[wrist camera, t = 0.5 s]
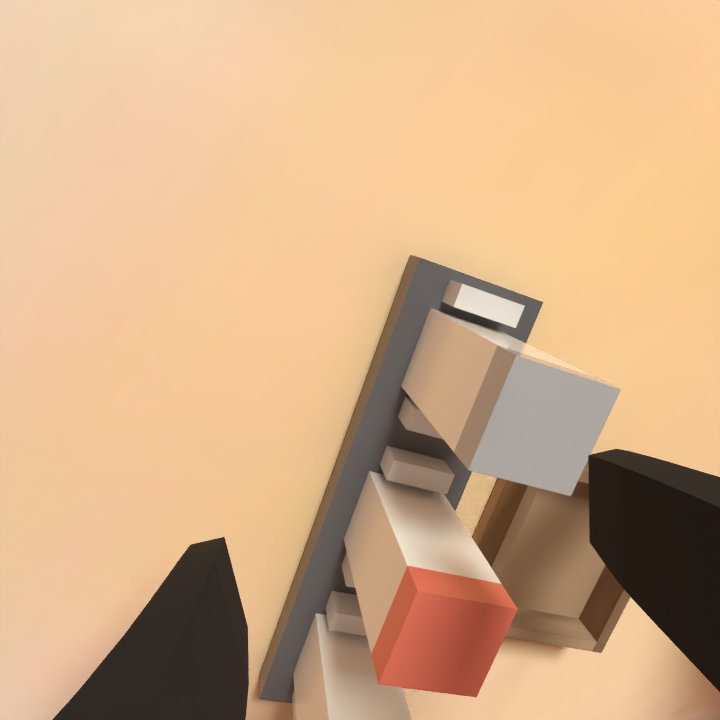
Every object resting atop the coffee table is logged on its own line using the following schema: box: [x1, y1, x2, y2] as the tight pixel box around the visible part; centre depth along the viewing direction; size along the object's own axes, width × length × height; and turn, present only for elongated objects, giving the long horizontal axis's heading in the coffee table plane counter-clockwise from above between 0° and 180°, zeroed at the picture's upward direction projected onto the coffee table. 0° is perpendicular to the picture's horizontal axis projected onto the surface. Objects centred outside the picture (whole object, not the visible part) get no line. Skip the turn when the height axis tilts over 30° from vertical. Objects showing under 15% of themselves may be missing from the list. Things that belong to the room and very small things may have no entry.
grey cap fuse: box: [401, 308, 621, 496], centre depth 15 cm, size 3×3×6 cm
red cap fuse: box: [344, 471, 518, 697], centre depth 17 cm, size 3×3×6 cm
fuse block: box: [259, 255, 543, 720], centre depth 20 cm, size 5×19×2 cm, turn 161°
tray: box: [472, 461, 630, 653], centre depth 22 cm, size 7×8×2 cm
